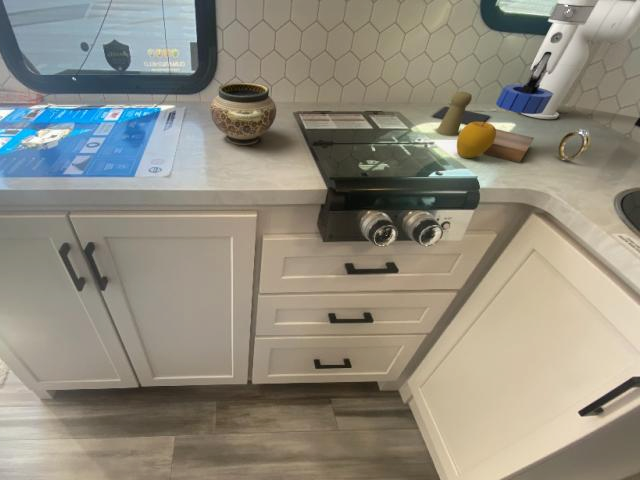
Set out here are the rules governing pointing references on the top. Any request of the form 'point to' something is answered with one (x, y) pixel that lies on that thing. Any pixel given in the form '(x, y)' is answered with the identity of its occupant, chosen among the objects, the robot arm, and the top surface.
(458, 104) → the tan pawn figure
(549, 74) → the robot arm
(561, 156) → the ring
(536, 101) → the ring
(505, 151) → the platform
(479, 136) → the apple
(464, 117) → the mat
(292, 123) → the top surface
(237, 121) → the floral ceramic pot
